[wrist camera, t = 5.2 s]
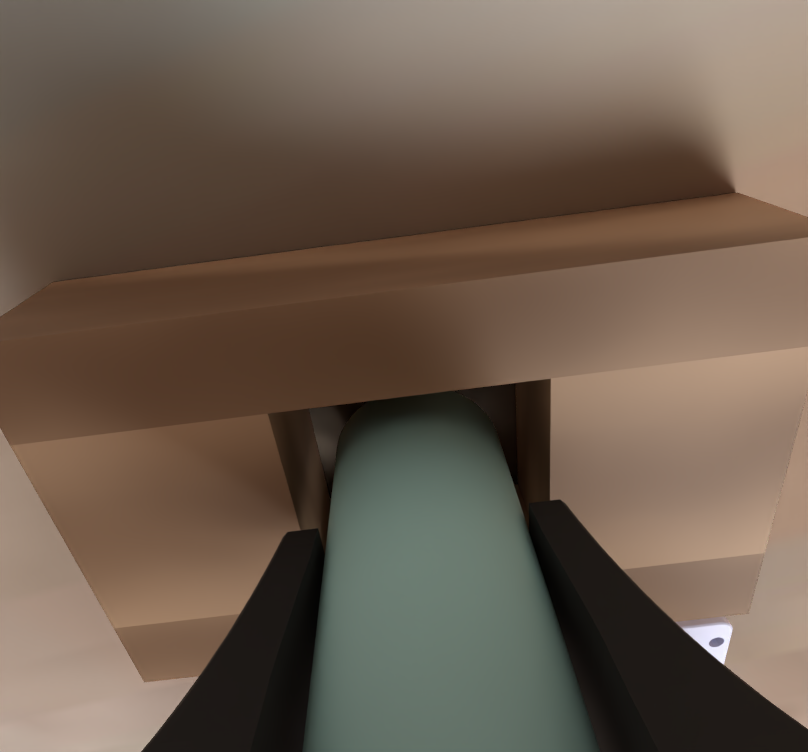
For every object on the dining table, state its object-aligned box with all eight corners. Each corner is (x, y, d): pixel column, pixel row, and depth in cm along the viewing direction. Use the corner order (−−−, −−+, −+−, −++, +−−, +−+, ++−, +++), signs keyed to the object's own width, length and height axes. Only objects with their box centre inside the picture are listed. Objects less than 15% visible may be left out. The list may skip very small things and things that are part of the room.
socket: (684, 518, 18) (748, 613, 15) (184, 577, 18) (144, 682, 15) (737, 192, 13) (850, 232, 10) (53, 282, 13) (-46, 347, 10)
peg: (502, 509, 15) (614, 909, 8) (350, 526, 15) (324, 938, 8) (496, 376, 13) (639, 746, 6) (322, 396, 13) (254, 786, 6)
